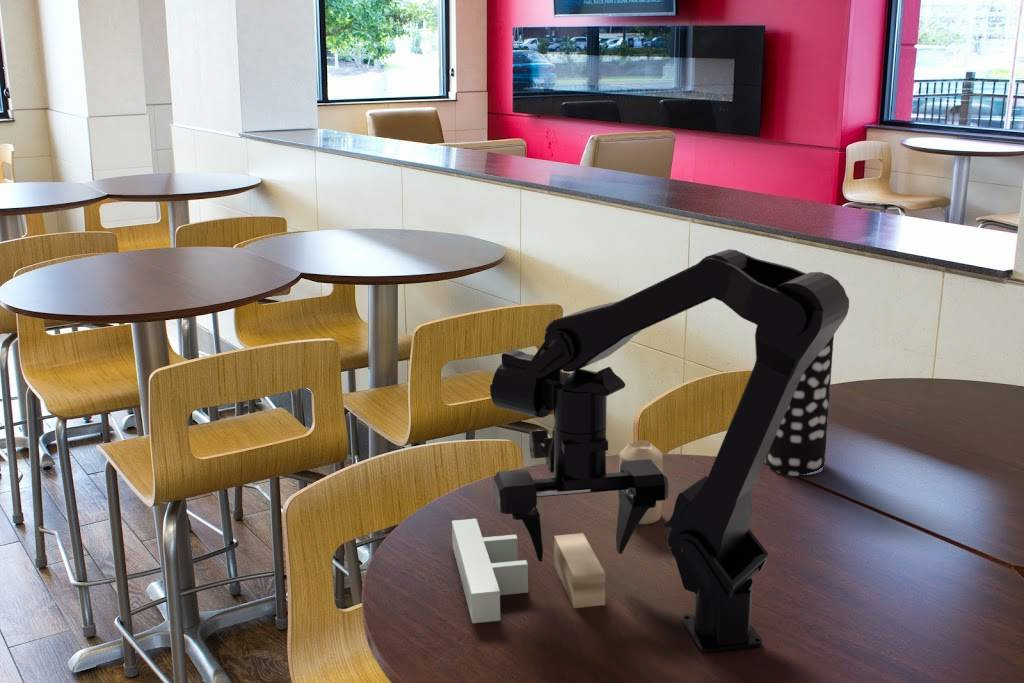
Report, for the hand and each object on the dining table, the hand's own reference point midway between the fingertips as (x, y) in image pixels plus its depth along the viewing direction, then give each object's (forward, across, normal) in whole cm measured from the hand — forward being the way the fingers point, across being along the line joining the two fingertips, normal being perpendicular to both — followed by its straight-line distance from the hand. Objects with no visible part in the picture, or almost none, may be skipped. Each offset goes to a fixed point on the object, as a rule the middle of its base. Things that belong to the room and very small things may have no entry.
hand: (579, 555), depth 115 cm
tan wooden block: (+4, 0, 0) cm, 4 cm away
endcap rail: (+4, +10, -3) cm, 11 cm away
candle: (+4, -12, -16) cm, 20 cm away
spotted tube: (+4, -39, -28) cm, 48 cm away
